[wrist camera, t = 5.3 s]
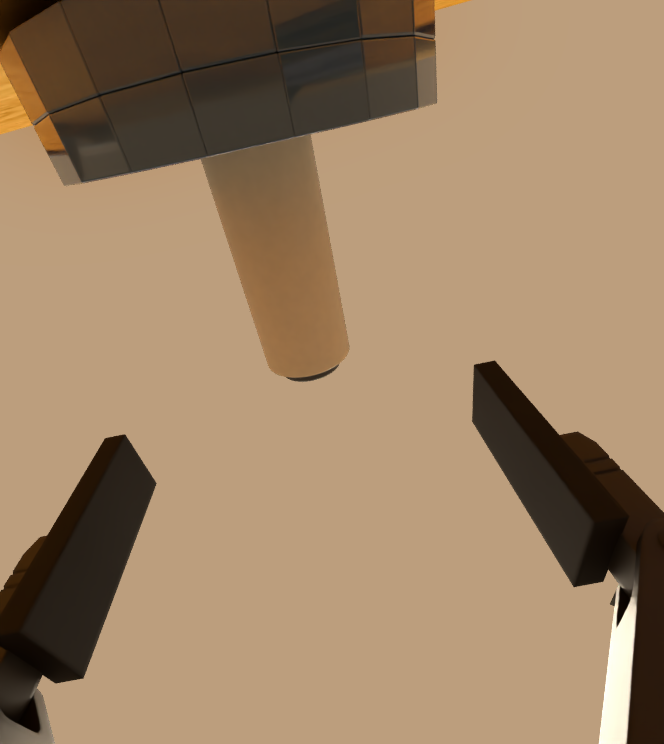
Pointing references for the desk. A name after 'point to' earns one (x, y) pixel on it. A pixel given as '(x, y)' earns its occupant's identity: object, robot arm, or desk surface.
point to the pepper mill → (282, 254)
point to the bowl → (211, 75)
